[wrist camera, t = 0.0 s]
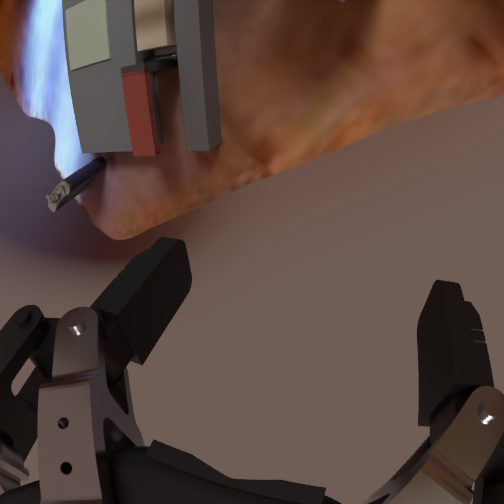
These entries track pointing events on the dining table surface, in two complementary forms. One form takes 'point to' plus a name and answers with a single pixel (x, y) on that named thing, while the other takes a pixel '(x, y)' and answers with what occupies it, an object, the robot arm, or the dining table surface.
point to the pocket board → (125, 54)
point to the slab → (154, 24)
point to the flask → (75, 184)
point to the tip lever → (144, 99)
